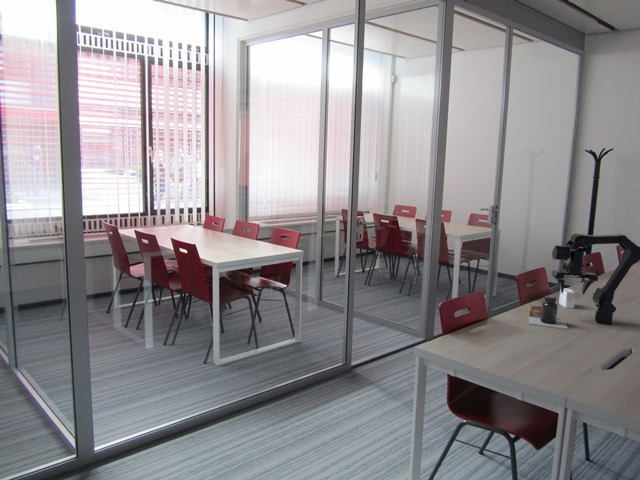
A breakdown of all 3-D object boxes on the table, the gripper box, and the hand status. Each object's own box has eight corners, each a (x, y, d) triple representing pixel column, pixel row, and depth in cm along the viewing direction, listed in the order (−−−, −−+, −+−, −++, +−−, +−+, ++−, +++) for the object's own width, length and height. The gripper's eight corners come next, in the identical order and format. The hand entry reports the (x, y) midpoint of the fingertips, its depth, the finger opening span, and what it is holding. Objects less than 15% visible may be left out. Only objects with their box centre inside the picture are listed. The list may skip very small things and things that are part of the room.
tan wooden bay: (551, 313, 252) (552, 307, 251) (553, 319, 241) (554, 313, 241) (528, 310, 255) (529, 304, 255) (529, 316, 245) (530, 310, 244)
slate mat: (565, 322, 238) (565, 321, 238) (567, 329, 228) (568, 328, 228) (528, 317, 243) (528, 316, 243) (529, 324, 233) (529, 323, 233)
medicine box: (573, 308, 261) (575, 292, 260) (565, 308, 261) (567, 291, 260) (566, 304, 269) (568, 288, 268) (558, 303, 269) (560, 287, 268)
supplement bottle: (552, 320, 239) (555, 295, 237) (558, 324, 232) (561, 299, 230) (537, 319, 239) (540, 294, 237) (542, 323, 233) (545, 298, 231)
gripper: (591, 258, 243) (587, 290, 246) (550, 256, 246) (546, 287, 248) (600, 263, 232) (596, 296, 235) (557, 260, 235) (553, 293, 238)
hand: (572, 293), depth 239 cm, fingers open, 9 cm apart
